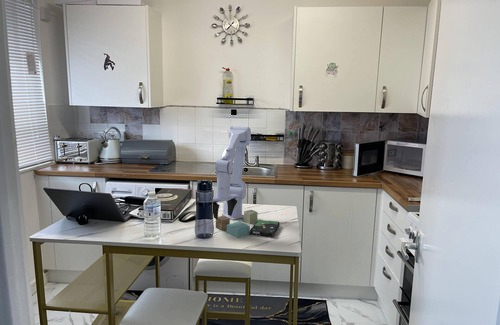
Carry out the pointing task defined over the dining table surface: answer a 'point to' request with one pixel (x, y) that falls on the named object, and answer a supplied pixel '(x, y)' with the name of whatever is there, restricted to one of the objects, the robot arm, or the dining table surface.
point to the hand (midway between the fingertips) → (222, 216)
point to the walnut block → (222, 222)
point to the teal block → (238, 229)
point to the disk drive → (264, 228)
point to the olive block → (250, 216)
